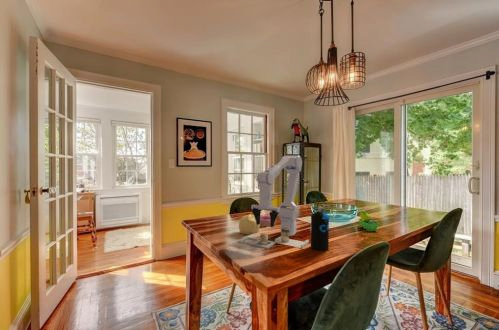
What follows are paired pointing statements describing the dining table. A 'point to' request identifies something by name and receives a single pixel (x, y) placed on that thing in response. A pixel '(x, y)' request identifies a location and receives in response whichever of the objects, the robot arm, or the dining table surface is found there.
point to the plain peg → (285, 234)
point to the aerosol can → (319, 231)
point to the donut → (265, 221)
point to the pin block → (256, 242)
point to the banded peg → (263, 239)
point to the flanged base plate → (292, 242)
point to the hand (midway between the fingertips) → (265, 225)
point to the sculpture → (248, 225)
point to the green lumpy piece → (367, 222)
